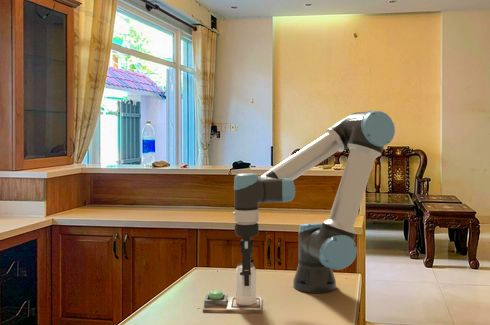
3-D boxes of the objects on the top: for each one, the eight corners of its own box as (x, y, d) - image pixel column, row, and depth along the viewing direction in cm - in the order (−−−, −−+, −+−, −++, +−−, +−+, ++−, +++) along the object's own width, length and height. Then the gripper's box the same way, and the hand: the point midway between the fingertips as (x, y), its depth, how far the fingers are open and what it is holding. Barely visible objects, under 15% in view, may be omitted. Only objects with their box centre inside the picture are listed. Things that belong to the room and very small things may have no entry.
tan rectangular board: (261, 299, 168) (261, 291, 168) (261, 313, 155) (261, 304, 155) (207, 298, 169) (207, 291, 169) (202, 312, 156) (202, 303, 156)
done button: (223, 296, 164) (223, 290, 164) (222, 301, 160) (222, 294, 160) (209, 296, 164) (209, 290, 164) (208, 300, 160) (208, 294, 160)
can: (259, 301, 163) (259, 264, 162) (249, 307, 157) (249, 269, 157) (242, 298, 166) (242, 262, 166) (231, 303, 161) (231, 266, 160)
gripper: (236, 216, 173) (237, 278, 174) (232, 229, 148) (233, 301, 149) (258, 216, 173) (259, 278, 174) (258, 229, 148) (259, 301, 149)
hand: (247, 289), depth 162 cm, fingers open, 13 cm apart
